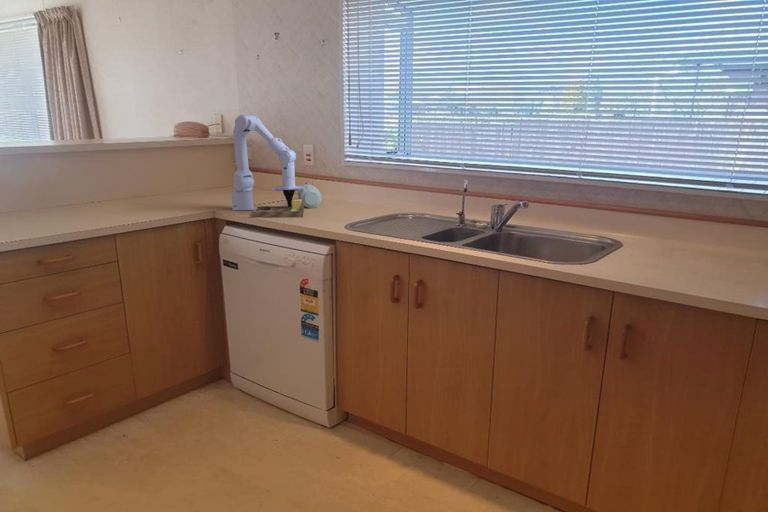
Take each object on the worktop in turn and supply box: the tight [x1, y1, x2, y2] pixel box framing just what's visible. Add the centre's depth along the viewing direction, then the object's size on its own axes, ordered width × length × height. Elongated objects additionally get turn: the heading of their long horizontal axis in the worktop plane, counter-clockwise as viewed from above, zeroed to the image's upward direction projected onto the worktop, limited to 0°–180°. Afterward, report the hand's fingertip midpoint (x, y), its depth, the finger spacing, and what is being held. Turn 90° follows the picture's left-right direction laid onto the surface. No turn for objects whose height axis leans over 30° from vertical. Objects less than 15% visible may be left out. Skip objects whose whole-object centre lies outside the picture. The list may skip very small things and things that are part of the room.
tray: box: [253, 203, 305, 218], centre depth 247 cm, size 22×13×4 cm, turn 96°
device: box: [297, 182, 322, 209], centre depth 275 cm, size 31×10×10 cm, turn 16°
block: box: [291, 198, 302, 210], centre depth 250 cm, size 4×4×4 cm
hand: (289, 206), depth 250 cm, fingers closed
